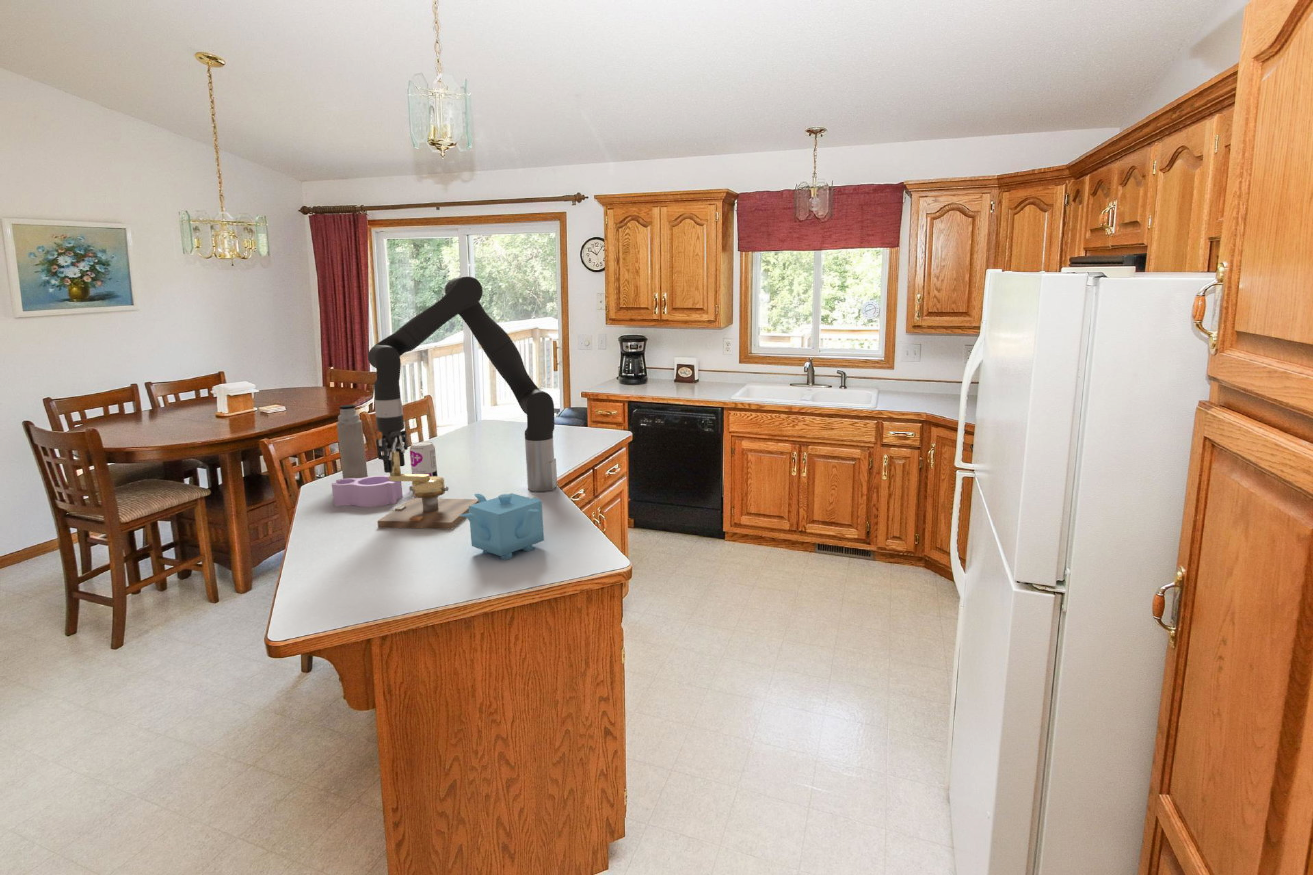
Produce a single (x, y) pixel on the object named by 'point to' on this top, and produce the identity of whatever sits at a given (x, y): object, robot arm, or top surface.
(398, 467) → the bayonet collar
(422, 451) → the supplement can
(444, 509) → the walnut base
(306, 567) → the top surface
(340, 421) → the thermos bottle
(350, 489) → the lavender double cup holder
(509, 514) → the teakettle
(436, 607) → the top surface
